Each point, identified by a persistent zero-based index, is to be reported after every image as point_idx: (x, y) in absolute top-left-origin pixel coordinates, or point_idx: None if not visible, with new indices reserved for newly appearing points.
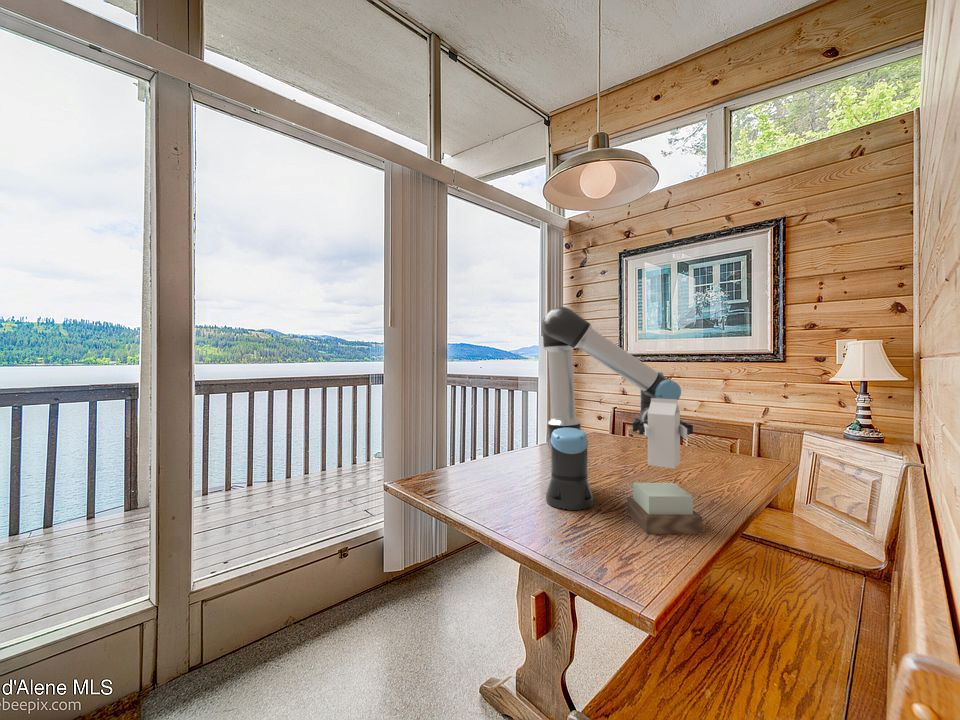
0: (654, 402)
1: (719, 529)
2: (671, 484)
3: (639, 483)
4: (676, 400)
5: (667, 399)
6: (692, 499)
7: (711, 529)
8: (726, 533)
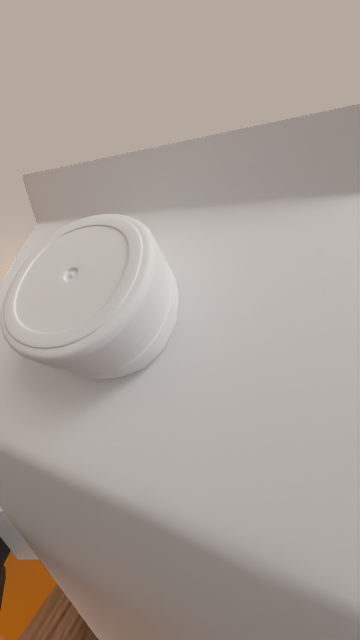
0: (294, 209)
1: (53, 636)
2: None
3: None
4: (38, 187)
5: (113, 165)
6: None
7: (78, 625)
8: (55, 597)
